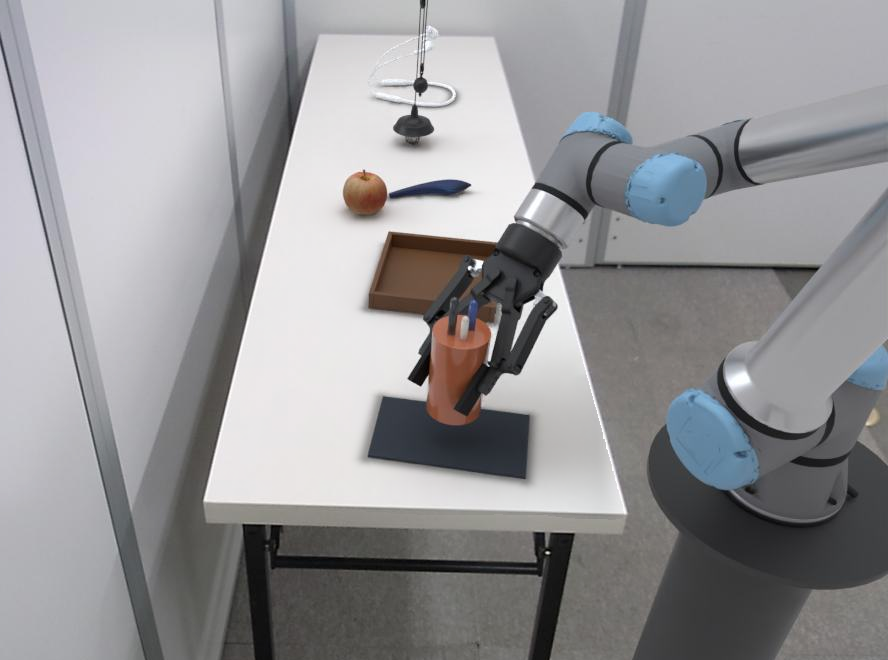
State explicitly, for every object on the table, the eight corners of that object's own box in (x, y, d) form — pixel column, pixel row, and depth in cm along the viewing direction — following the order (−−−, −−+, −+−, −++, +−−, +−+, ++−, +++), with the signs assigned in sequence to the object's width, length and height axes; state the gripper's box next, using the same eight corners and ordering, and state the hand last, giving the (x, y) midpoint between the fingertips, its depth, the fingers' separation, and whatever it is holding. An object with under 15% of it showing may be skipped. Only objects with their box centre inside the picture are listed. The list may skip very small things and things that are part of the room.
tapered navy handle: (391, 206, 168) (391, 196, 166) (387, 194, 170) (387, 184, 168) (472, 195, 170) (474, 185, 168) (468, 184, 172) (469, 173, 170)
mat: (529, 417, 121) (529, 414, 121) (525, 479, 112) (525, 476, 112) (382, 398, 124) (382, 395, 124) (367, 457, 115) (367, 454, 115)
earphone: (369, 63, 211) (430, 15, 202) (411, 119, 218) (472, 76, 209) (358, 84, 201) (422, 35, 192) (403, 142, 208) (467, 98, 198)
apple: (336, 204, 167) (336, 163, 161) (377, 198, 168) (378, 158, 163) (350, 224, 161) (350, 183, 156) (392, 218, 163) (393, 177, 158)
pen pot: (482, 393, 117) (498, 283, 106) (478, 429, 112) (494, 316, 101) (429, 386, 118) (439, 276, 107) (422, 421, 113) (432, 309, 102)
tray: (502, 257, 153) (504, 242, 151) (493, 322, 138) (496, 307, 136) (388, 245, 155) (388, 231, 154) (368, 308, 141) (368, 293, 139)
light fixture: (440, 153, 184) (452, -10, 163) (400, 157, 182) (407, -7, 162) (426, 133, 191) (436, -25, 170) (387, 137, 189) (393, -23, 169)
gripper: (615, 280, 106) (511, 444, 108) (486, 218, 117) (393, 368, 119) (598, 257, 100) (487, 431, 102) (463, 194, 111) (365, 352, 113)
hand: (436, 397), depth 111 cm, fingers closed on pen pot, 7 cm apart
